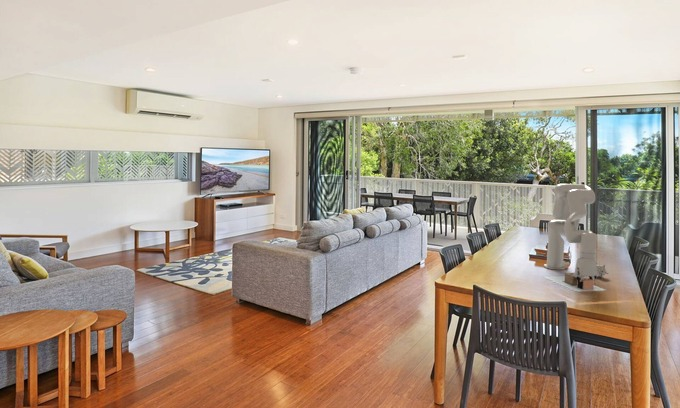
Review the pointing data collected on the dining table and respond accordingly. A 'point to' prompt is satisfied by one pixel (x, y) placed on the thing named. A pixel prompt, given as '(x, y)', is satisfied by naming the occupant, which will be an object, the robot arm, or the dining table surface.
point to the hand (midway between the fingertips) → (585, 287)
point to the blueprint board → (574, 287)
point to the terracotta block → (587, 283)
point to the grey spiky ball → (601, 270)
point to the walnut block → (570, 278)
